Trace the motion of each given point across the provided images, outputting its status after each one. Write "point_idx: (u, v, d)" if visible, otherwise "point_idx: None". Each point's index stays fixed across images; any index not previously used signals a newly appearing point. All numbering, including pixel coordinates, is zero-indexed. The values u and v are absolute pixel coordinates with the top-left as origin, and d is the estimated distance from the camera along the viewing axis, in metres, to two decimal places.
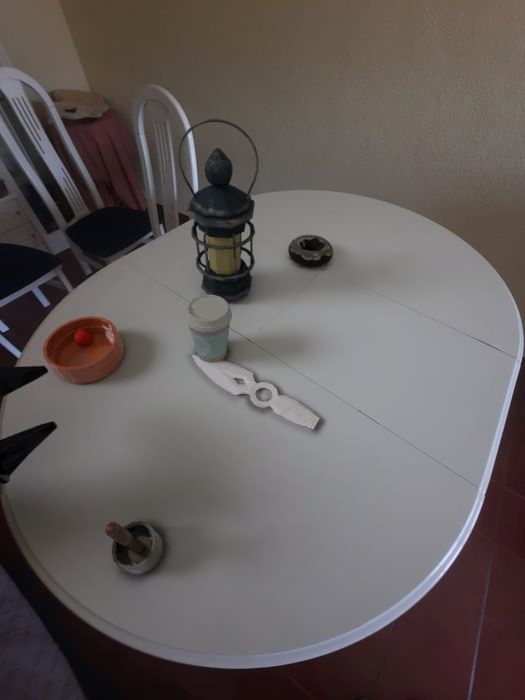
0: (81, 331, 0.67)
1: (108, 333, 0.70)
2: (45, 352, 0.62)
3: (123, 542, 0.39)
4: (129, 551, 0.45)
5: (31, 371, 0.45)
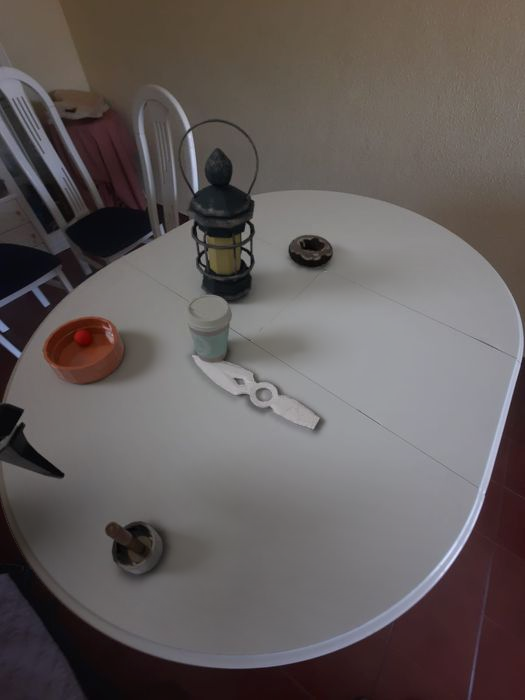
0: (81, 331, 0.67)
1: (108, 333, 0.70)
2: (45, 352, 0.62)
3: (123, 542, 0.39)
4: (129, 551, 0.45)
5: (50, 472, 0.39)
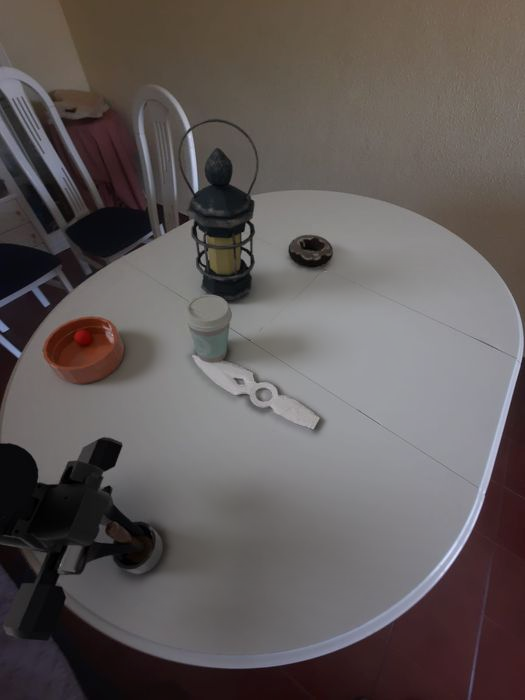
0: (81, 331, 0.67)
1: (108, 333, 0.70)
2: (45, 352, 0.62)
3: (123, 542, 0.39)
4: None
5: (132, 531, 0.40)
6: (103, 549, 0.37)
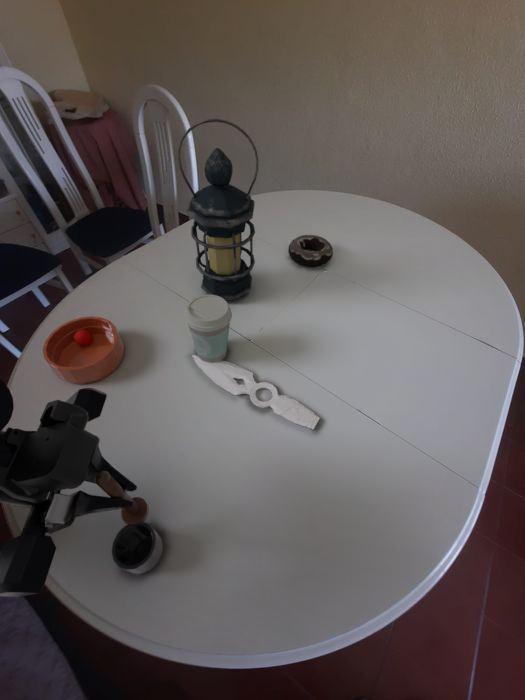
0: (81, 331, 0.67)
1: (108, 333, 0.70)
2: (45, 352, 0.62)
3: (116, 496, 0.36)
4: (122, 514, 0.42)
5: (124, 486, 0.38)
6: (94, 502, 0.34)
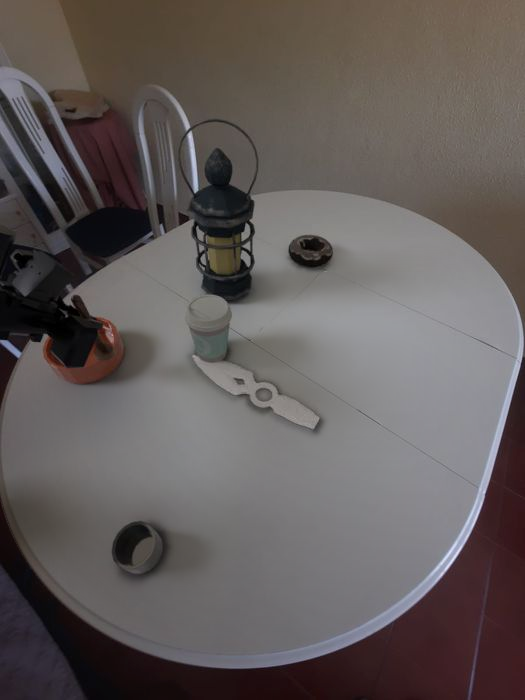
0: None
1: (108, 333, 0.70)
2: (45, 352, 0.62)
3: (90, 318, 0.53)
4: (98, 355, 0.58)
5: None
6: (81, 317, 0.50)
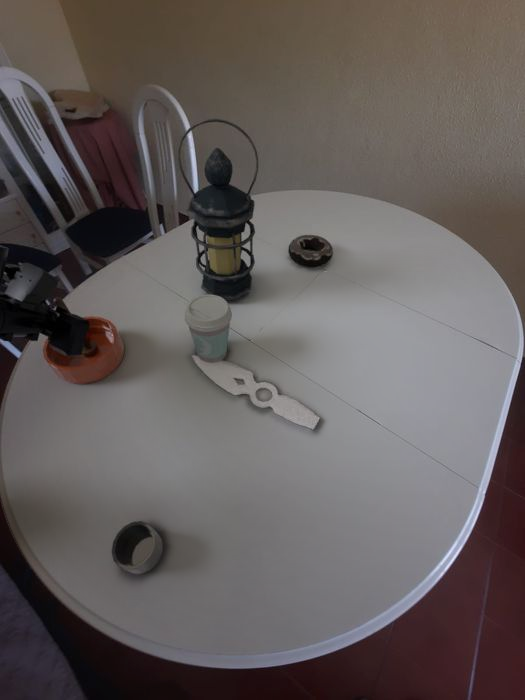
0: None
1: (108, 333, 0.70)
2: (45, 352, 0.62)
3: None
4: (84, 352, 0.66)
5: None
6: None
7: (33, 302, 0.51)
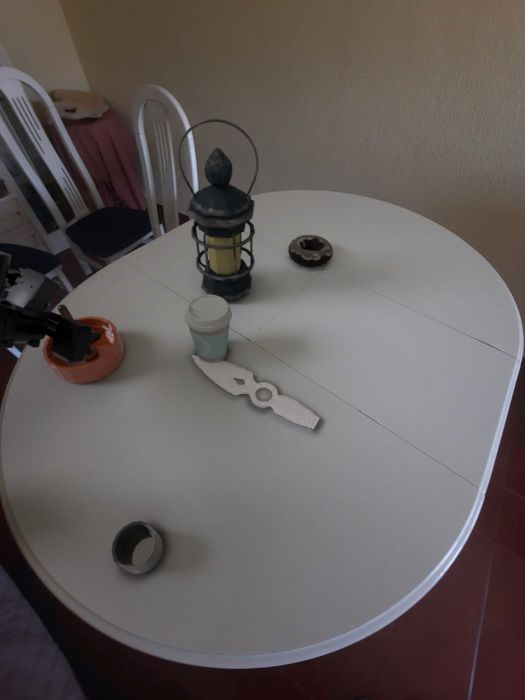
0: None
1: (108, 333, 0.70)
2: (45, 352, 0.62)
3: None
4: (84, 357, 0.65)
5: (57, 315, 0.62)
6: None
7: (34, 308, 0.50)
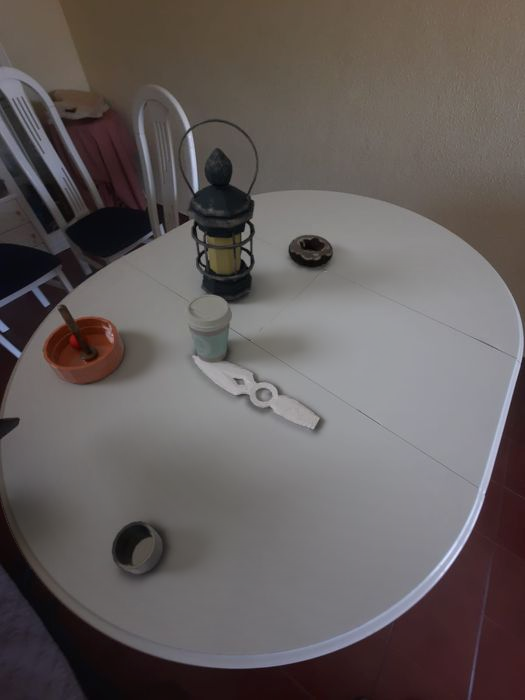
0: (73, 337, 0.66)
1: (108, 333, 0.70)
2: (45, 352, 0.62)
3: (75, 324, 0.60)
4: (84, 357, 0.65)
5: None
6: None
7: None
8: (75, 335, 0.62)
